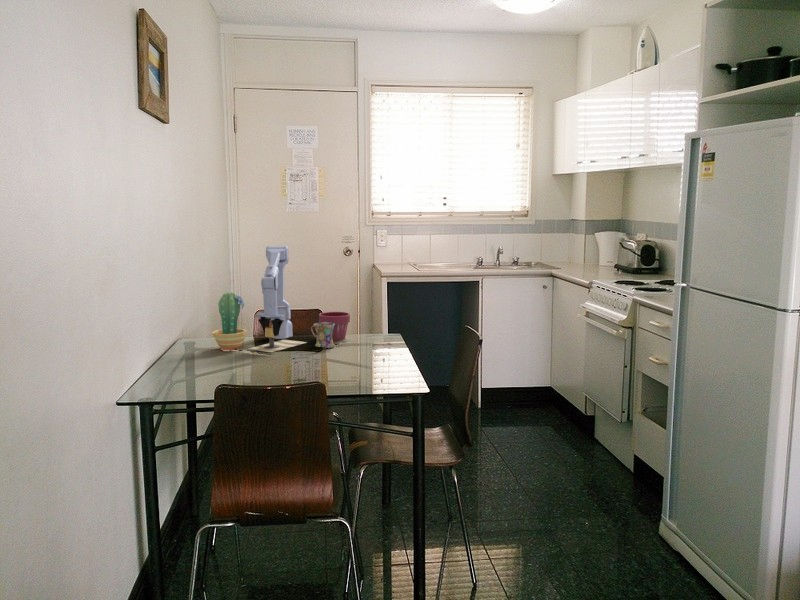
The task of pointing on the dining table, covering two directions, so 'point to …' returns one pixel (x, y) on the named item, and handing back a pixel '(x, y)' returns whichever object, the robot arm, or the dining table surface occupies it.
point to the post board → (276, 345)
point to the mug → (324, 334)
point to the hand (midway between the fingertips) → (271, 335)
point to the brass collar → (269, 332)
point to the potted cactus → (230, 322)
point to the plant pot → (336, 323)
